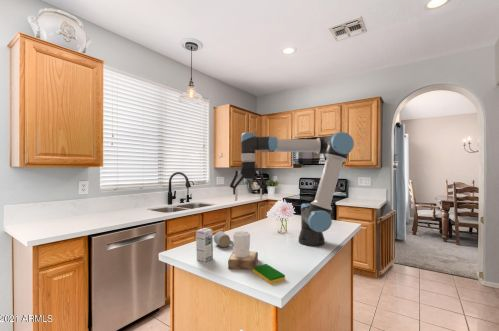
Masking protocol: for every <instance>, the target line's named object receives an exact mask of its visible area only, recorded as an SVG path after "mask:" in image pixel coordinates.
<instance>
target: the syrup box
mask: <svg viewBox="0 0 499 331" xmlns="http://www.w3.org/2000/svg"><path fill="white" fill-rule="evenodd" d="M213 241H214V238H213V229H212V228H208V227H203V228H200V229H197V230H196V232H195V242H196V243H195V244H196V246H195V248H196V250H195V251H196V260H197V261H199V260H200V261H201V262H204V263H206V262H207V261H210V260H211V259H213V258H214V253H213V252H214V251H213V250H214V245H213Z"/></svg>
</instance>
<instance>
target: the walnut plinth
mask: <svg viewBox="0 0 499 331" xmlns="http://www.w3.org/2000/svg"><path fill="white" fill-rule="evenodd" d="M258 260H259V253H258V251H250V250H249V256H248V257H244V258H239V257H236V256H235V252H234V250H233V251H232V253H231V255H230V257H229V258H228V261H227V262H228V263H227V266H228V267H227V269H229V270H230V269H231V270H247V271H249V270H251V271H253V267H255V266H258Z"/></svg>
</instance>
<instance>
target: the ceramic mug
mask: <svg viewBox="0 0 499 331" xmlns="http://www.w3.org/2000/svg"><path fill="white" fill-rule="evenodd" d="M213 241H214V243H215V244H216V245H218V246H219V247H221V248H226V247H229V245H232V246H234V242H233V240H231V238H230V235H228V234H227V233H225V232H224V231H222V230H219V231H217V232H216V233H215V234H214V235H213Z"/></svg>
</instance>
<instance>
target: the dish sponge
mask: <svg viewBox="0 0 499 331" xmlns="http://www.w3.org/2000/svg"><path fill="white" fill-rule="evenodd" d="M252 272H253V274H255V275H256V276H258V277H259V278H261V279H262V280H264V281H265V282H267V283H268V284H269V285H275V284H277V283H280V282H281V283H282V282H285V281H286V275H285V274H284V273H283V272H281V271H279V270H277V269H275V268H274V267H272V266H270V265H269V264H268V263H264V264H259V265H256V266H255V267H253V270H252Z"/></svg>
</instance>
